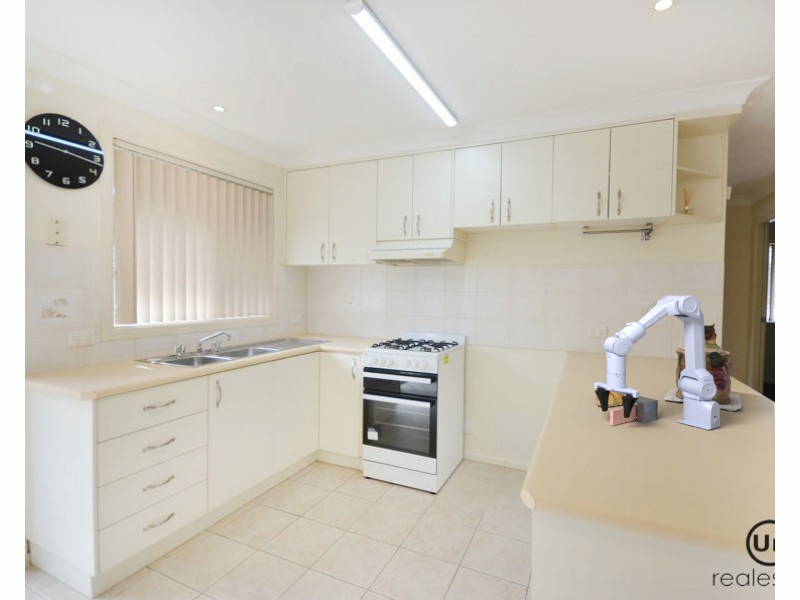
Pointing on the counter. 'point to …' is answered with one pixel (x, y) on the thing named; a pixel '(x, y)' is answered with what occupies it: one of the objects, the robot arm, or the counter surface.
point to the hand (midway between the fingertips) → (615, 414)
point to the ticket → (621, 416)
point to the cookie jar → (715, 366)
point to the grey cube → (646, 409)
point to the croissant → (613, 399)
